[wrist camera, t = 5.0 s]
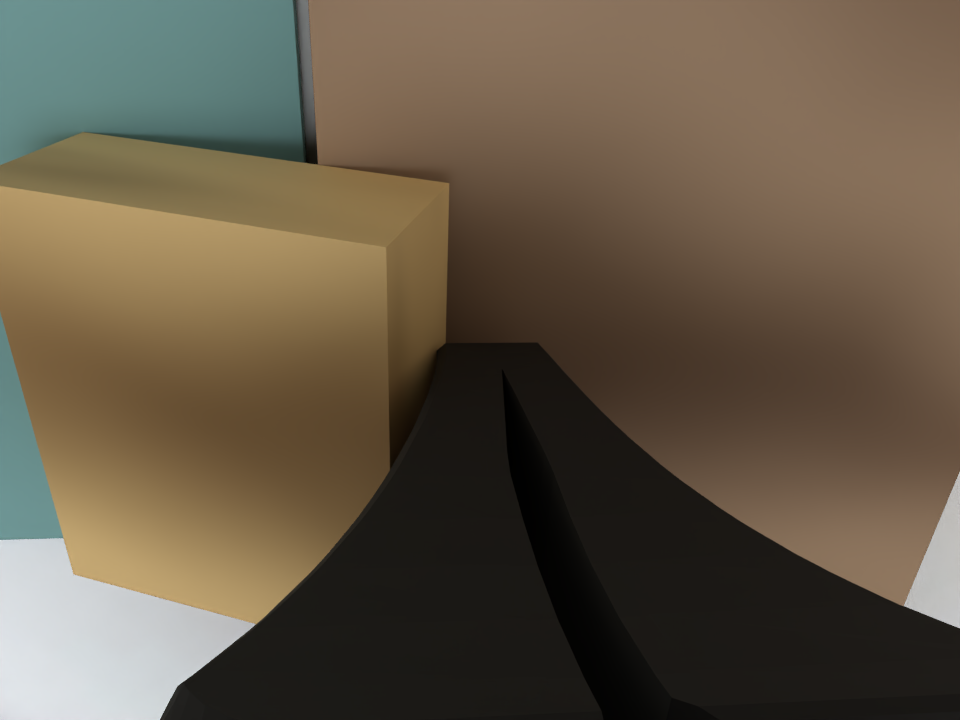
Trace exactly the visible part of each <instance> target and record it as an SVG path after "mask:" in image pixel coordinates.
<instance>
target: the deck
mask: <svg viewBox="0 0 960 720" xmlns="http://www.w3.org/2000/svg"><path fill="white" fill-rule="evenodd" d="M308 6H309V22H310V39H311V56H312V73H313V89H314V106H315V123H316V139H317V156H318V165H323V166H330V167H337V168H345V169H352V170H359V171H366V172H373V173H380V174H388V175H395V176H402V177H409V178H416V179H423V180H430V181H438V182H445V183H449V218H448V261H447V303H446V343H527V342H538V343H539V345H540V346H541V347H542V348H543V349H544V350H545V351H546V352H547V353H548V354H549V355H550V356H551V357H552V358H553V360H554V361H555V362H556V363H557V364H558V365H559V366H560V367H561V368H562V370H563V371H564V372H565V373H566V374H567V375H568V376H569V377H570V378H571V379H572V381H573V382H574V383H575V384H576V385H577V386H578V387H579V388H580V389H581V390H582V391H583V392H584V393H585V395H586V396H587V397H588V398H589V399H590V400H591V401H592V402H593V403H594V404H595V405H596V406H597V407H598V408H599V409H600V410H601V411H602V412H603V413H604V414H605V415H606V416H607V417H608V418H609V419H610V420H611V421H612V422H613V423H614V424H615V425H616V426H617V427H618V428H620V429H621V430H622V431H623V432H624V433H625V434H626V435H627V436H628V437H629V438H630V439H632V440H633V441H634V442H635V443H636V444H637V445H639V446H640V447H641V448H642V449H643V450H644V451H646V452H647V453H648V454H649V455H650V456H651V457H653V458H654V459H655V460H656V461H657V462H659V463H660V464H661V465H662V466H663V467H665V468H666V469H667V470H668V471H670V472H671V473H672V474H674V475H675V476H676V477H677V478H679V479H680V480H681V481H683V482H684V483H685V484H687V485H688V486H690V487H691V488H693V489H694V490H695V491H697V492H698V493H700V494H701V495H702V496H704V497H705V498H707V499H708V500H709V501H711V502H712V503H714V504H715V505H716V506H718V507H719V508H721V509H722V510H724V511H725V512H727V513H728V514H730V515H732V516H733V517H735V518H736V519H738V520H739V521H741V522H742V523H744V524H746V525H747V526H749V527H751V528H752V529H754V530H756V531H757V532H759V533H761V534H763V535H764V536H766V537H768V538H769V539H771V540H773V541H775V542H776V543H778V544H780V545H781V546H783V547H785V548H786V549H788V550H790V551H792V552H793V553H795V554H797V555H799V556H801V557H803V558H805V559H807V560H808V561H810V562H812V563H814V564H816V565H818V566H820V567H822V568H824V569H826V570H828V571H829V572H831V573H833V574H836V575H838V576H840V577H842V578H844V579H846V580H848V581H850V582H852V583H854V584H856V585H859V586H861V587H863V588H865V589H867V590H869V591H871V592H873V593H875V594H877V595H879V596H882V597H884V598H886V599H888V600H890V601H893V602H895V603H897V604H899V605H902V606H904V603H905V601H906V599H907V596H908V594H909V591H910V589H911V587H912V584H913V582H914V579H915V577H916V575H917V572H918V570H919V567H920V565H921V563H922V560H923V558H924V555H925V553H926V551H927V548H928V546H929V543H930V541H931V539H932V536H933V534H934V531H935V529H936V527H937V524H938V522H939V519H940V517H941V515H942V512H943V510H944V507H945V505H946V503H947V500H948V498H949V495H950V493H951V491H952V488H953V486H954V483H955V481H956V479H957V476H958V474H959V472H960V0H308Z"/></svg>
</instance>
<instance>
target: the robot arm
mask: <svg viewBox="0 0 960 720" xmlns="http://www.w3.org/2000/svg"><path fill="white" fill-rule="evenodd" d="M160 720H960V629H959V628H957V627H954V626H952V625H949V624H947V623H944V622H942V621H939V620H937V619H934V618H932V617H929V616H927V615H924V614H922V613H919V612H917V611H914V610H912V609H909V608H907V607H904V606H902V605H899V604H897V603H895V602H893V601H890V600H888V599H886V598H884V597H882V596H879V595H877V594H875V593H873V592H871V591H869V590H867V589H865V588H863V587H861V586H859V585H856V584H854V583H852V582H850V581H848V580H846V579H844V578H842V577H840V576H838V575H836V574H833V573H831V572H829V571H828V570H826V569H824V568H822V567H820V566H818V565H816V564H814V563H812V562H810V561H808V560H807V559H805V558H803V557H801V556H799V555H797V554H795V553H793V552H792V551H790V550H788V549H786V548H785V547H783V546H781V545H780V544H778V543H776V542H775V541H773V540H771V539H769V538H768V537H766V536H764V535H763V534H761V533H759V532H757V531H756V530H754V529H752V528H751V527H749V526H747V525H746V524H744V523H742V522H741V521H739V520H738V519H736V518H735V517H733V516H732V515H730V514H728V513H727V512H725V511H724V510H722V509H721V508H719V507H718V506H716V505H715V504H714V503H712V502H711V501H709V500H708V499H707V498H705V497H704V496H702V495H701V494H700V493H698V492H697V491H695V490H694V489H693V488H691V487H690V486H688V485H687V484H685V483H684V482H683V481H681V480H680V479H679V478H677V477H676V476H675V475H674V474H672V473H671V472H670V471H668V470H667V469H666V468H665V467H663V466H662V465H661V464H660V463H659V462H657V461H656V460H655V459H654V458H653V457H651V456H650V455H649V454H648V453H647V452H646V451H644V450H643V449H642V448H641V447H640V446H639V445H637V444H636V443H635V442H634V441H633V440H632V439H630V438H629V437H628V436H627V435H626V434H625V433H624V432H623V431H622V430H621V429H620V428H618V427H617V426H616V425H615V424H614V423H613V422H612V421H611V420H610V419H609V418H608V417H607V416H606V415H605V414H604V413H603V412H602V411H601V410H600V409H599V408H598V407H597V406H596V405H595V404H594V403H593V402H592V401H591V400H590V399H589V398H588V397H587V396H586V395H585V393H584V392H583V391H582V390H581V389H580V388H579V387H578V386H577V385H576V384H575V383H574V382H573V381H572V379H571V378H570V377H569V376H568V375H567V374H566V373H565V372H564V371H563V370H562V368H561V367H560V366H559V365H558V364H557V363H556V362H555V361H554V360H553V358H552V357H551V356H550V355H549V354H548V353H547V352H546V351H545V350H544V349H543V348H542V347H541V346H540V345H539V343H538V342H527V343H445V344H444V345H443V346H442V347H440V348H439V349H438V350H437V355H436V368H435V373H434V376H433V380H432V383H431V386H430V389H429V392H428V395H427V397H426V400H425V402H424V404H423V407H422V409H421V411H420V414H419V416H418V418H417V420H416V423H415V425H414V427H413V429H412V431H411V433H410V435H409V437H408V439H407V441H406V442H405V444H404V446H403V448H402V450H401V451H400V453H399V455H398V457H397V459H396V460H395V462H394V464H393V466H392V468H391V469H390V471H389V473H388V474H387V476H386V477H385V479H384V480H383V482H382V484H381V485H380V487H379V488H378V490H377V491H376V493H375V494H374V495H373V497H372V498H371V500H370V501H369V502H368V504H367V505H366V507H365V508H364V509H363V511H362V512H361V513H360V515H359V516H358V517H357V519H356V520H355V521H354V523H353V524H352V525H351V526H350V527H349V529H348V530H347V531H346V532H345V533H344V535H343V536H342V537H341V538H340V540H339V541H338V542H337V543H336V544H335V546H334V547H333V548H332V549H331V550H330V552H329V553H328V554H327V555H326V556H325V557H324V558H323V559H322V561H321V562H320V563H319V564H318V565H317V566H316V567H315V568H314V569H313V570H312V571H311V572H310V573H309V574H308V575H307V576H306V577H305V578H304V579H303V580H302V581H301V582H300V583H299V584H298V585H297V586H296V587H295V588H294V589H293V590H292V591H291V592H290V593H289V594H288V595H287V596H286V597H285V598H284V599H283V600H281V601H280V602H279V603H278V604H277V605H276V606H275V607H274V608H273V609H272V610H271V611H270V612H269V613H268V614H267V615H266V616H265V617H264V618H263V619H262V620H260V621H259V622H258V623H257V624H256V625H255V626H254V627H252V628H251V629H250V630H249V631H248V632H247V633H245V634H244V635H243V636H242V637H240V638H239V639H238V640H237V641H235V642H234V643H233V644H232V645H230V646H229V647H228V648H227V649H225V650H224V651H223V652H222V653H220V654H219V655H218V656H216V657H215V658H214V659H213V660H211V661H210V662H209V663H208V664H206V665H205V666H204V667H203V668H201V669H200V670H199V671H198V672H196V673H195V674H194V675H192V676H191V677H190V678H188V679H187V680H185V681H184V682H183V683H181V684H180V685H179V686H178V687H177V689H176V690H175V692H174V694H173V696H172V698H171V699H170V701H169V703H168V705H167V707H166V709H165V711H164V713H163V715H162V717H161V719H160Z"/></svg>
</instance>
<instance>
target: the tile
mask: <svg viewBox="0 0 960 720" xmlns="http://www.w3.org/2000/svg"><path fill="white" fill-rule="evenodd" d="M448 218H449V183H445V182H438V181H430V180H423V179H416V178H409V177H402V176H395V175H388V174H380V173H373V172H366V171H359V170H352V169H345V168H337V167H330V166H323V165H316V164H309V163H302V162H294V161H287V160H280V159H273V158H266V157H259V156H251V155H244V154H237V153H230V152H223V151H216V150H208V149H201V148H194V147H187V146H180V145H173V144H166V143H158V142H151V141H144V140H137V139H130V138H123V137H115V136H108V135H101V134H94V133H87V132H82V133H79V134H77V135H74V136H72V137H69V138H67V139H64V140H62V141H59V142H57V143H54V144H52V145H49V146H47V147H44V148H42V149H39V150H37V151H34V152H32V153H29V154H27V155H24V156H22V157H19V158H17V159H14V160H12V161H9V162H7V163H4V164H2V165H0V313H1V317H2V320H3V324H4V327H5V331H6V334H7V338H8V342H9V345H10V349H11V352H12V356H13V359H14V363H15V367H16V370H17V374H18V377H19V381H20V384H21V388H22V392H23V395H24V399H25V402H26V406H27V409H28V413H29V417H30V420H31V424H32V427H33V431H34V434H35V438H36V442H37V445H38V449H39V452H40V456H41V459H42V463H43V466H44V470H45V474H46V477H47V481H48V484H49V488H50V491H51V495H52V499H53V502H54V506H55V509H56V513H57V516H58V520H59V524H60V527H61V531H62V534H63V538H64V541H65V545H66V549H67V552H68V556H69V559H70V563H71V566H72V570H73V574H75V575H78V576H82V577H86V578H89V579H93V580H97V581H100V582H104V583H108V584H111V585H115V586H119V587H122V588H126V589H130V590H133V591H137V592H141V593H144V594H148V595H152V596H155V597H159V598H163V599H166V600H170V601H174V602H178V603H181V604H185V605H189V606H192V607H196V608H200V609H203V610H207V611H211V612H214V613H218V614H222V615H225V616H229V617H233V618H236V619H240V620H244V621H247V622H251V623H255V624H257V623H258V622H259V621H260V620H262V619H263V618H264V617H265V616H266V615H267V614H268V613H269V612H270V611H271V610H272V609H273V608H274V607H275V606H276V605H277V604H278V603H279V602H280V601H281V600H283V599H284V598H285V597H286V596H287V595H288V594H289V593H290V592H291V591H292V590H293V589H294V588H295V587H296V586H297V585H298V584H299V583H300V582H301V581H302V580H303V579H304V578H305V577H306V576H307V575H308V574H309V573H310V572H311V571H312V570H313V569H314V568H315V567H316V566H317V565H318V564H319V563H320V562H321V561H322V559H323V558H324V557H325V556H326V555H327V554H328V553H329V552H330V550H331V549H332V548H333V547H334V546H335V544H336V543H337V542H338V541H339V540H340V538H341V537H342V536H343V535H344V533H345V532H346V531H347V530H348V529H349V527H350V526H351V525H352V524H353V523H354V521H355V520H356V519H357V517H358V516H359V515H360V513H361V512H362V511H363V509H364V508H365V507H366V505H367V504H368V502H369V501H370V500H371V498H372V497H373V495H374V494H375V493H376V491H377V490H378V488H379V487H380V485H381V484H382V482H383V480H384V479H385V477H386V476H387V474H388V473H389V471H390V469H391V468H392V466H393V464H394V462H395V460H396V459H397V457H398V455H399V453H400V451H401V450H402V448H403V446H404V444H405V442H406V441H407V439H408V437H409V435H410V433H411V431H412V429H413V427H414V425H415V423H416V420H417V418H418V416H419V414H420V411H421V409H422V407H423V404H424V402H425V400H426V397H427V395H428V392H429V389H430V386H431V383H432V380H433V376H434V373H435V368H436V355H437V350H438V349H439V348H440V347H442V346H443V345H444V344H445V343H446V303H447V261H448Z"/></svg>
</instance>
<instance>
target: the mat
mask: <svg viewBox="0 0 960 720" xmlns="http://www.w3.org/2000/svg"><path fill="white" fill-rule="evenodd" d="M82 132H87V133H94V134H101V135H108V136H115V137H123V138H130V139H137V140H144V141H151V142H158V143H166V144H173V145H180V146H187V147H194V148H201V149H208V150H216V151H223V152H230V153H237V154H244V155H251V156H259V157H266V158H273V159H280V160H287V161H294V162H302V163H306V149H305V135H304V120H303V105H302V90H301V75H300V60H299V45H298V30H297V15H296V0H0V165H2V164H4V163H7V162H9V161H12V160H14V159H17V158H19V157H22V156H24V155H27V154H29V153H32V152H34V151H37V150H39V149H42V148H44V147H47V146H49V145H52V144H54V143H57V142H59V141H62V140H64V139H67V138H69V137H72V136H74V135H77V134H79V133H82ZM46 538H63V534H62V531H61V527H60V524H59V520H58V516H57V513H56V509H55V506H54V502H53V499H52V495H51V491H50V488H49V484H48V481H47V477H46V474H45V470H44V466H43V463H42V459H41V456H40V452H39V449H38V445H37V442H36V438H35V434H34V431H33V427H32V424H31V420H30V417H29V413H28V409H27V406H26V402H25V399H24V395H23V392H22V388H21V384H20V381H19V377H18V374H17V370H16V367H15V363H14V359H13V356H12V352H11V349H10V345H9V342H8V338H7V334H6V331H5V327H4V324H3V320H2V317H1V313H0V540H10V539H46Z"/></svg>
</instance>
